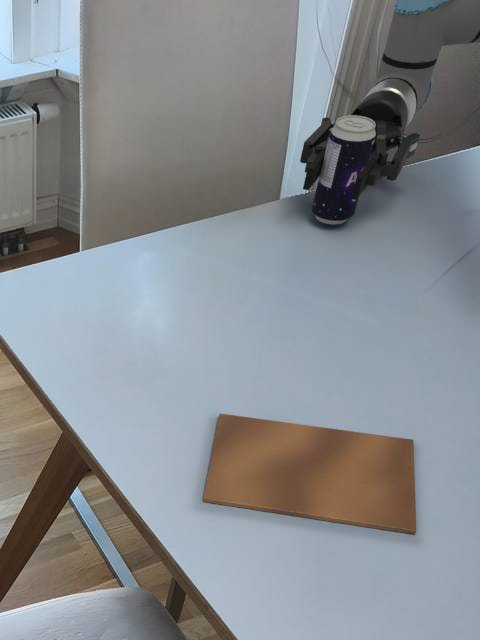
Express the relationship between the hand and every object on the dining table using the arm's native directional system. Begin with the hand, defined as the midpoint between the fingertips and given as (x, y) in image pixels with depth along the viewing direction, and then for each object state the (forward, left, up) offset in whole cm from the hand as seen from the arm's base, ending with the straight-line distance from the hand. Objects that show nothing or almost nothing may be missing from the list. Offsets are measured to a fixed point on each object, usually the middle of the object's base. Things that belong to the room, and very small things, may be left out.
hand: (332, 183), depth 113 cm
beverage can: (-1, -5, -7) cm, 8 cm away
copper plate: (-1, +49, -7) cm, 50 cm away
